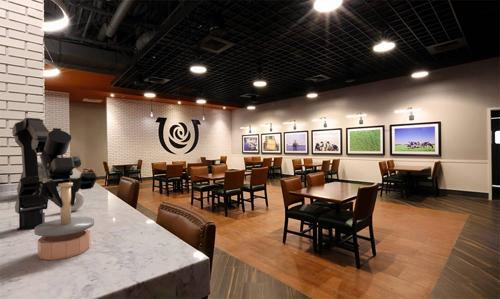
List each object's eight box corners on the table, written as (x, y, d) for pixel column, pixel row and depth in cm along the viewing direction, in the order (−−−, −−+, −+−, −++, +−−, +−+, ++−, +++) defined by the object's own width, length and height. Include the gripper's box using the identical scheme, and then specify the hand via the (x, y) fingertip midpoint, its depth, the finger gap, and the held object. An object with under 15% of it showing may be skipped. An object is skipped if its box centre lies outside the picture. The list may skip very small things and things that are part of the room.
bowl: (33, 252, 72) (33, 236, 72) (81, 240, 82) (80, 226, 81) (46, 264, 65) (45, 246, 65) (96, 249, 74) (96, 234, 74)
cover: (20, 234, 67) (19, 186, 67) (66, 219, 81) (66, 179, 81) (65, 237, 65) (65, 187, 65) (104, 221, 79) (104, 180, 79)
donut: (59, 213, 114) (59, 192, 114) (58, 212, 117) (58, 191, 117) (85, 210, 121) (85, 189, 121) (83, 208, 124) (83, 188, 123)
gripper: (19, 147, 68) (30, 193, 61) (94, 147, 83) (110, 184, 76) (12, 174, 73) (22, 219, 66) (85, 170, 88) (99, 206, 81)
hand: (67, 205), depth 72 cm, fingers closed on cover, 2 cm apart
